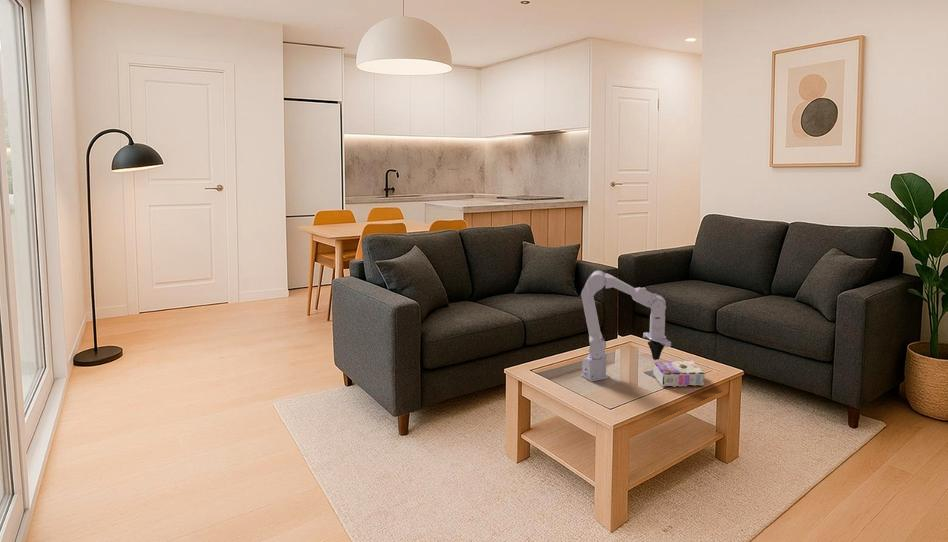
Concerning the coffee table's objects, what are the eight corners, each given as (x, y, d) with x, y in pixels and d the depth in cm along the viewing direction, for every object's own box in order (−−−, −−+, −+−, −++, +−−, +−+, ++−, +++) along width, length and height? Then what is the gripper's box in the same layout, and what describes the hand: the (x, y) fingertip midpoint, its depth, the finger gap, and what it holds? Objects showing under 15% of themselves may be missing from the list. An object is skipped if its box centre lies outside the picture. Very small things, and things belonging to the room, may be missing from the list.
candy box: (662, 387, 237) (704, 386, 236) (662, 373, 235) (705, 372, 235) (652, 374, 250) (692, 373, 250) (653, 361, 249) (693, 360, 249)
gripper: (677, 329, 234) (676, 363, 237) (653, 320, 247) (652, 352, 250) (663, 332, 232) (662, 366, 234) (639, 323, 245) (638, 354, 247)
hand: (656, 359), depth 242 cm, fingers closed
